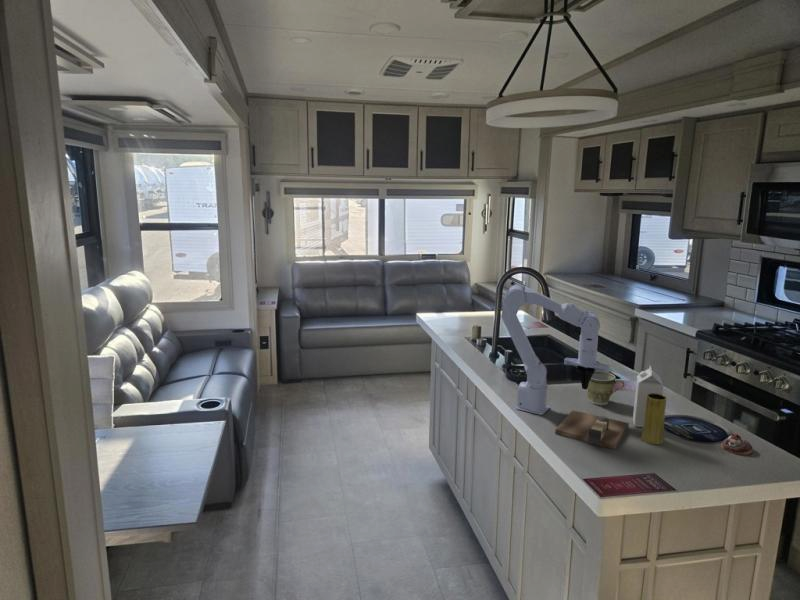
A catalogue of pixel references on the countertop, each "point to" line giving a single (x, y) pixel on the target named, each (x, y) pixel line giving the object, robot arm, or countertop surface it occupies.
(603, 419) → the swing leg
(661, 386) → the milk carton
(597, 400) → the ceramic cup
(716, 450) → the countertop surface
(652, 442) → the vase
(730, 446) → the pastry
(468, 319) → the countertop surface
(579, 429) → the wooden board
